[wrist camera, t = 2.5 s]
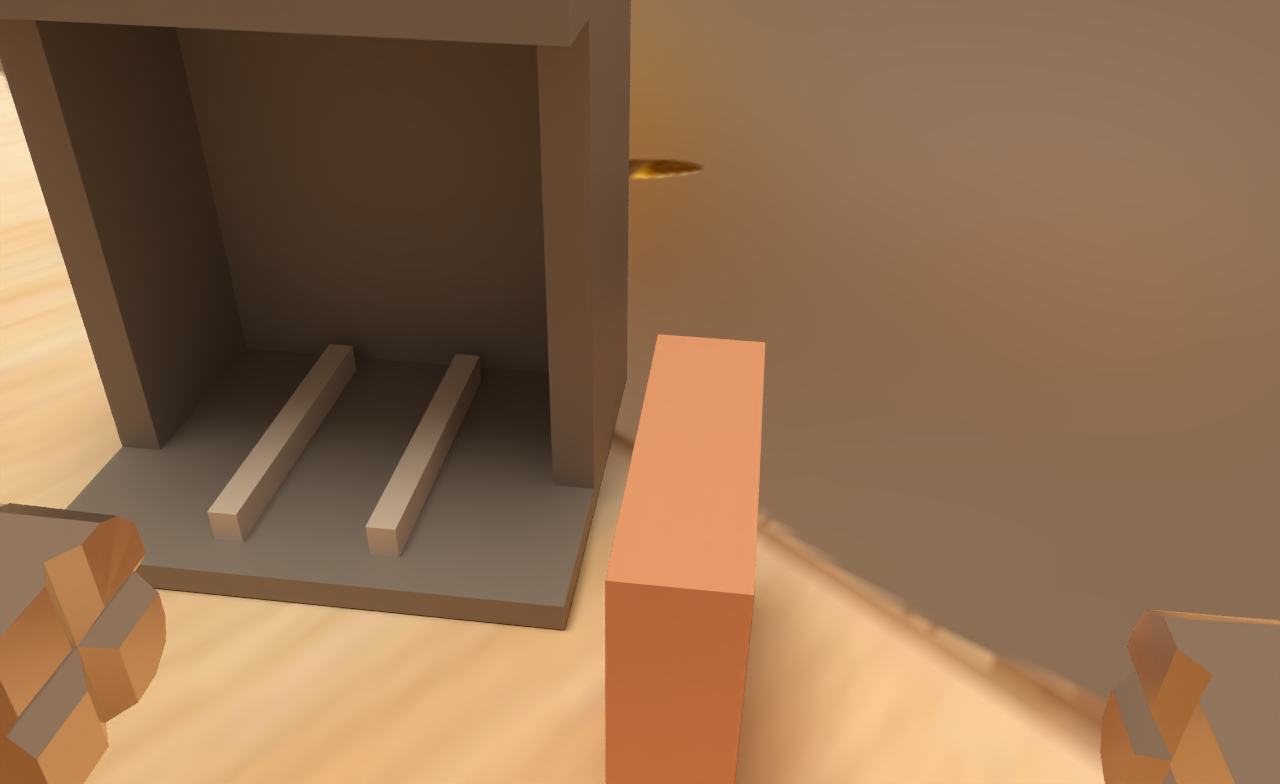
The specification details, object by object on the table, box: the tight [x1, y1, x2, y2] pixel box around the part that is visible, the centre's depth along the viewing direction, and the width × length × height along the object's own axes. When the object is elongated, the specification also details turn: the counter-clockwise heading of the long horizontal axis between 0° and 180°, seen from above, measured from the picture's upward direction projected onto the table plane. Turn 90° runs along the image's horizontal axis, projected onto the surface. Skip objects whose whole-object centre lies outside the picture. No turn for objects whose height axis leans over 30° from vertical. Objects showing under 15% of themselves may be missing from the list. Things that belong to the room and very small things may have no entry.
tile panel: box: [605, 335, 765, 784], centre depth 28 cm, size 10×3×10 cm, turn 173°
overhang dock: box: [0, 0, 631, 630], centre depth 35 cm, size 15×18×19 cm
